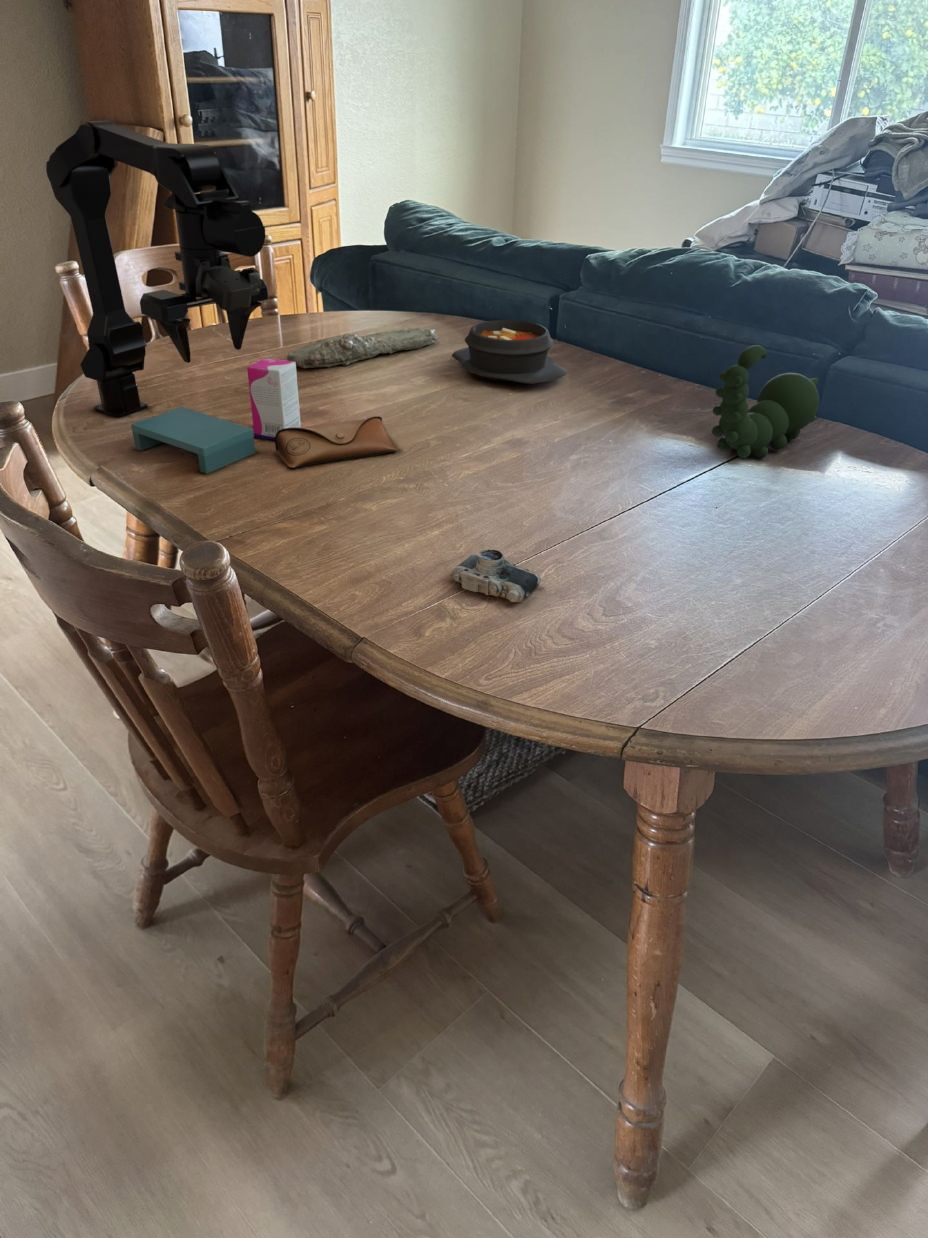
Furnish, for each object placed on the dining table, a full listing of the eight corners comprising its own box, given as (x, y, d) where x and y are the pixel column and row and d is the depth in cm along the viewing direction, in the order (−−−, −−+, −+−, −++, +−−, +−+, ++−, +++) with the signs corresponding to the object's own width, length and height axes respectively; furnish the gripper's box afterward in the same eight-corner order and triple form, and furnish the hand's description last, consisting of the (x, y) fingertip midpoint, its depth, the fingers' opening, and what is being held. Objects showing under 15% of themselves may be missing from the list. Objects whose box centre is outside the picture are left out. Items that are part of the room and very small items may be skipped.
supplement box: (302, 429, 150) (297, 360, 143) (284, 442, 145) (278, 371, 139) (271, 424, 151) (264, 356, 145) (252, 437, 146) (245, 366, 140)
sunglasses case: (291, 468, 135) (281, 423, 134) (281, 475, 141) (271, 433, 141) (402, 450, 142) (393, 407, 141) (388, 457, 148) (379, 417, 148)
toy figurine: (741, 483, 139) (833, 434, 152) (758, 363, 128) (857, 320, 141) (692, 464, 145) (785, 417, 158) (704, 348, 134) (803, 307, 147)
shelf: (135, 448, 141) (130, 424, 139) (185, 429, 148) (181, 406, 146) (206, 473, 134) (203, 448, 132) (255, 453, 141) (253, 428, 139)
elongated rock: (448, 352, 192) (419, 343, 198) (448, 326, 189) (419, 318, 196) (304, 374, 172) (277, 363, 178) (302, 345, 169) (275, 336, 176)
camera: (521, 609, 104) (523, 578, 102) (446, 583, 109) (446, 553, 107) (542, 590, 108) (544, 559, 106) (468, 566, 113) (469, 536, 110)
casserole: (587, 379, 175) (591, 335, 170) (518, 400, 164) (520, 353, 160) (498, 349, 190) (500, 308, 186) (430, 366, 180) (430, 323, 175)
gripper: (178, 265, 118) (193, 382, 126) (289, 245, 130) (296, 354, 139) (129, 250, 124) (147, 364, 132) (239, 233, 136) (249, 338, 144)
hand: (213, 355), depth 137 cm, fingers open, 9 cm apart
